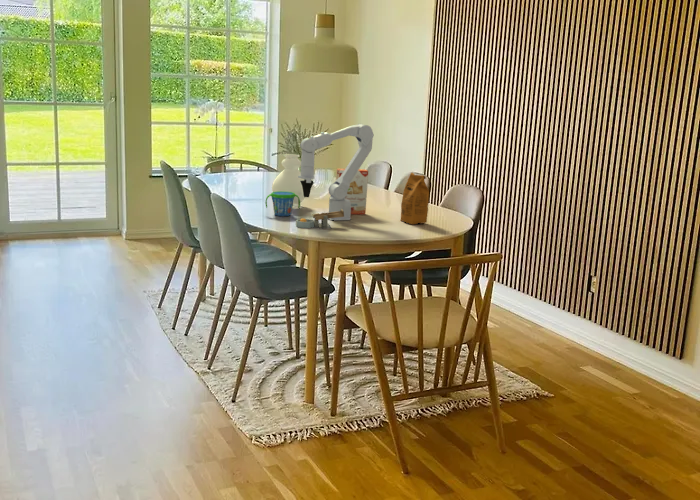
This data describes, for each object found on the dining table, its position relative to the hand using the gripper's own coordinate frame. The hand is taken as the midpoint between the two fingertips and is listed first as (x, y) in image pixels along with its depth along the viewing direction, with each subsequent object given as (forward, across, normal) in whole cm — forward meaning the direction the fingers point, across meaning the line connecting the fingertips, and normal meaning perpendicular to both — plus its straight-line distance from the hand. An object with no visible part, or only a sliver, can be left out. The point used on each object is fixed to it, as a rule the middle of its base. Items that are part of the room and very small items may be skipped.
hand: (306, 197), depth 329 cm
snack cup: (+10, -9, -10) cm, 17 cm away
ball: (+8, +16, -3) cm, 18 cm away
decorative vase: (+10, -32, -4) cm, 34 cm away
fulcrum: (+10, +16, +6) cm, 20 cm away
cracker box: (+10, -16, +23) cm, 30 cm away
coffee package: (+10, +3, +48) cm, 49 cm away
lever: (+6, +13, +8) cm, 16 cm away
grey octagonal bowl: (+10, +16, -2) cm, 19 cm away
